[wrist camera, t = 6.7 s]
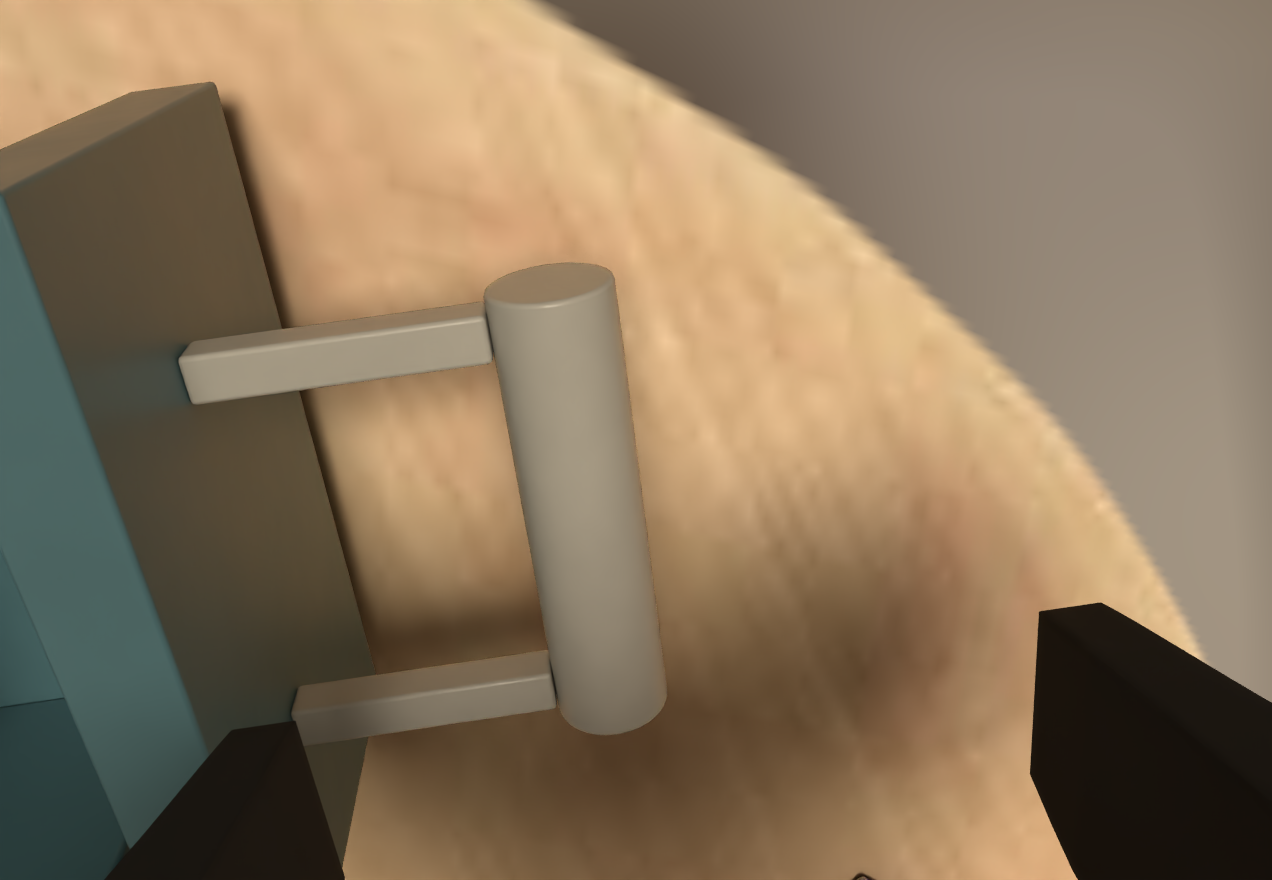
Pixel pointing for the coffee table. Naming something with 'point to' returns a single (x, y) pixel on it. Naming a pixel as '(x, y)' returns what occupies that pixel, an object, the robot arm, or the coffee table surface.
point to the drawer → (254, 493)
